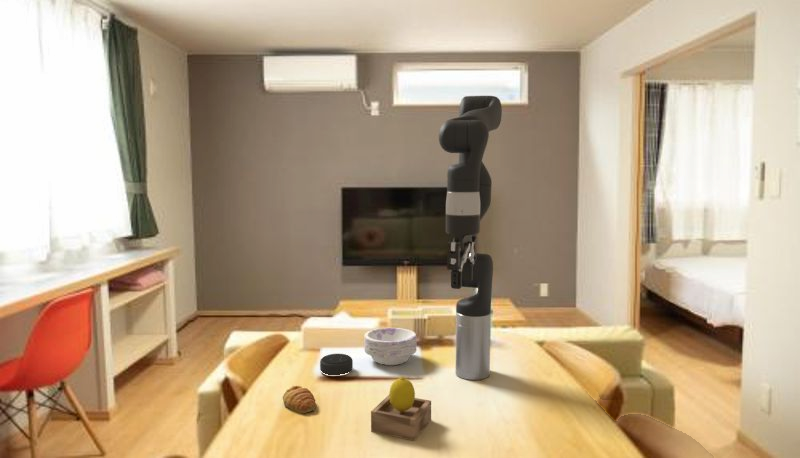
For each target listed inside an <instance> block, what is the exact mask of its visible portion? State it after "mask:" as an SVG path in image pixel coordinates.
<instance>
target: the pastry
mask: <svg viewBox="0 0 800 458" xmlns="http://www.w3.org/2000/svg"><path fill="white" fill-rule="evenodd" d="M282 400H283V405H284V406H285V407H286V408H288V409H289V410H291V411H294V412H296V413H298V414H299V413H301V414H307V413H308V412H312V411H314V410H315V408H316V407H317V402H316V399H315V395H314V394H313V393H312V392H311V391H310V389H308V388H306V387H302V386H300V385H293V386H292V387H290V388H288V389H286V391H285V392H284V393H283V396H282Z"/></svg>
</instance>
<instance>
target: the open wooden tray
mask: <svg viewBox="0 0 800 458" xmlns="http://www.w3.org/2000/svg"><path fill="white" fill-rule="evenodd" d="M431 421H432V400H429V399H425V398H424V399H423V398H418V397H415V399H414V403H413V405H412V406H411V408H410V409H408V410H406V411H404V412H403V413H400V412H399V411H398V410H396V409H395V408H393V406H392V405H391V403H390V398H389V394H388V395H387V396H386V397H385V398H383V400H381V401H380V403H378V404H377V405H376V406H375V407H374V408H373V409H372V410H371V411H370V428H371V429H370V431H371V432H373V433H377V434H383V435H387V436H391V437H396V438H400V439H406V440H411V441H415V440H417V438H418V437H419V436H420V435H421V434H422V432H423V430H424V429H425V428H426V427H427V426H428V425H429V423H430V422H431Z"/></svg>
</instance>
